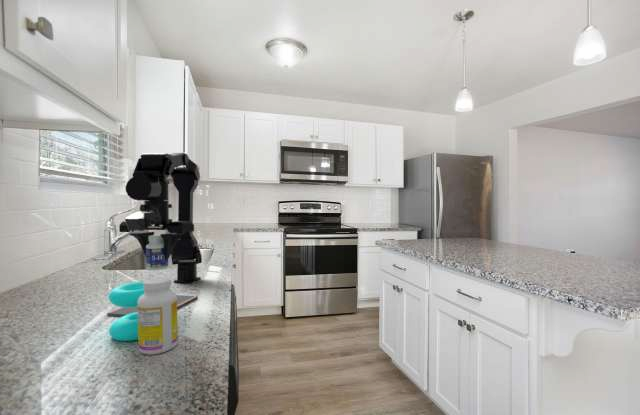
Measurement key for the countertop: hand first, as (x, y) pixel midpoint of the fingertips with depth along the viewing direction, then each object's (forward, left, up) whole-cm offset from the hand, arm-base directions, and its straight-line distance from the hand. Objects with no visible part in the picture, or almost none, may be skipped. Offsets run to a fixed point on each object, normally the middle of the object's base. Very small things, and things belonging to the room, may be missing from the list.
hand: (157, 258), depth 82 cm
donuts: (+16, +8, -13) cm, 22 cm away
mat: (+1, 0, -12) cm, 12 cm away
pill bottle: (0, 0, -3) cm, 3 cm away
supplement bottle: (+21, +17, -13) cm, 30 cm away
